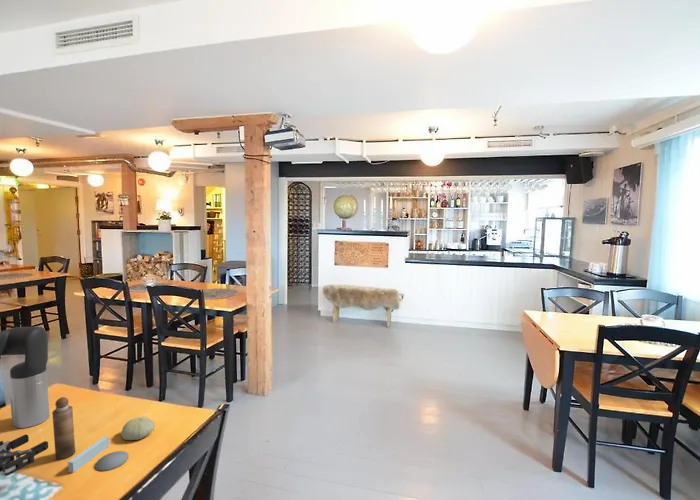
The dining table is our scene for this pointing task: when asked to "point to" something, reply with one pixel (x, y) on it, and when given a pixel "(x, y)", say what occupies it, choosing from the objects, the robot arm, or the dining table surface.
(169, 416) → the dining table surface
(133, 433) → the sea urchin shell
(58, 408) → the pepper mill
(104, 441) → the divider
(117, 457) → the gray pad
